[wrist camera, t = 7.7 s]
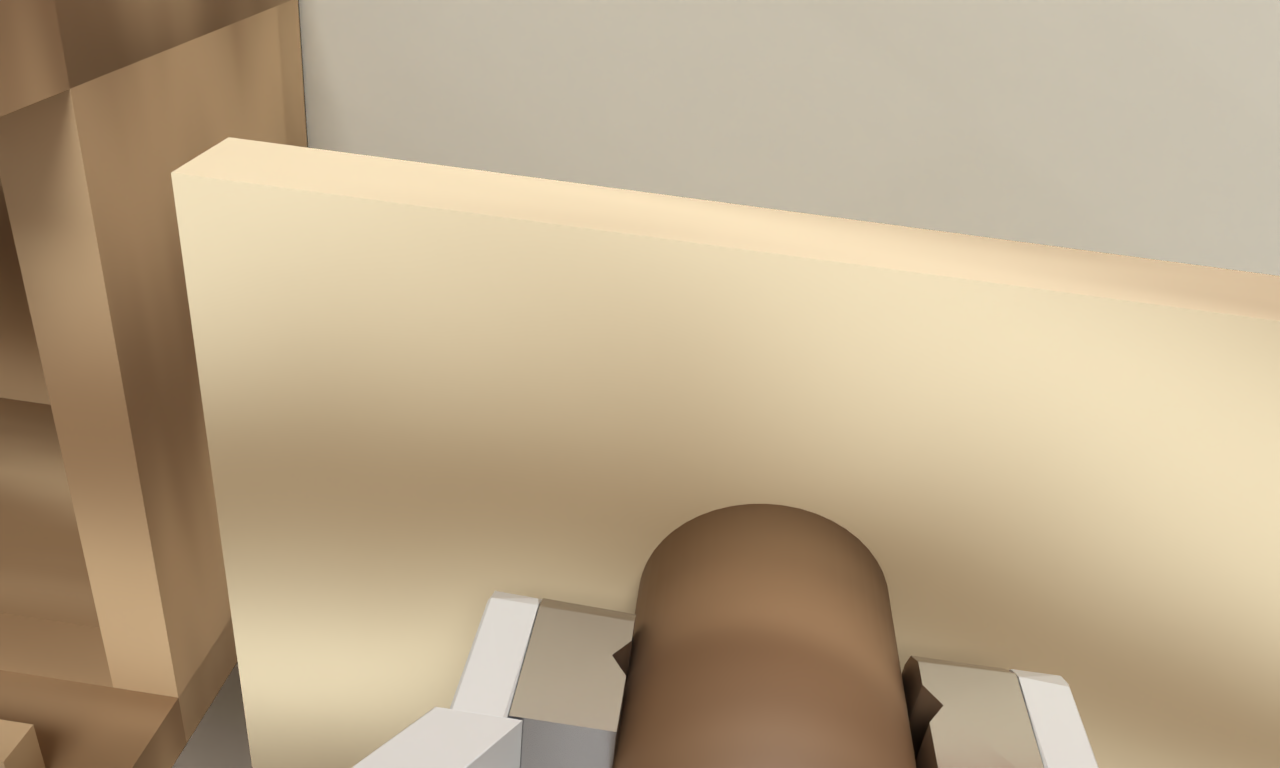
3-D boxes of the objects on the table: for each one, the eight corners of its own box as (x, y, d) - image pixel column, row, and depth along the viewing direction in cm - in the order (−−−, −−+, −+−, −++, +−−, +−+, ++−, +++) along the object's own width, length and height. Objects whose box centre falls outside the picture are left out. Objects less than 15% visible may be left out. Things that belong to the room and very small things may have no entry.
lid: (1158, 836, 14) (1340, 1307, 10) (287, 701, 15) (80, 1090, 10) (1457, 299, 10) (2015, 693, 6) (229, 137, 11) (-165, 379, 6)
